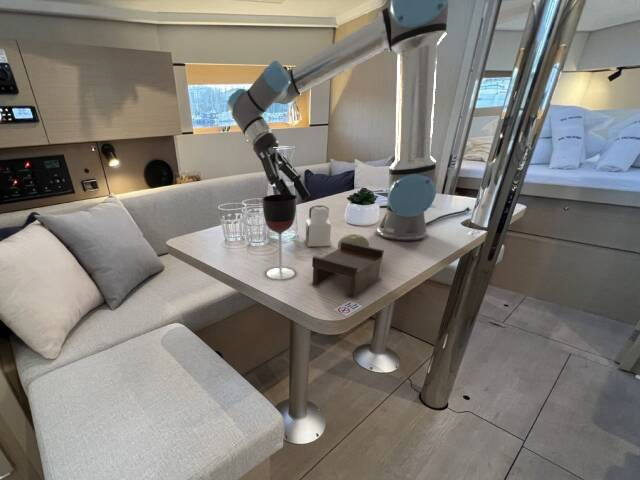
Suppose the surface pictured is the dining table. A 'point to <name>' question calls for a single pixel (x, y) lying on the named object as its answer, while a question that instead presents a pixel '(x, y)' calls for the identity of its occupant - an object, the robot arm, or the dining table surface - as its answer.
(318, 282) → the stand
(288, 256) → the dining table surface
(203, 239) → the dining table surface
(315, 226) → the medicine bottle
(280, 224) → the wineglass
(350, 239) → the sea urchin shell
